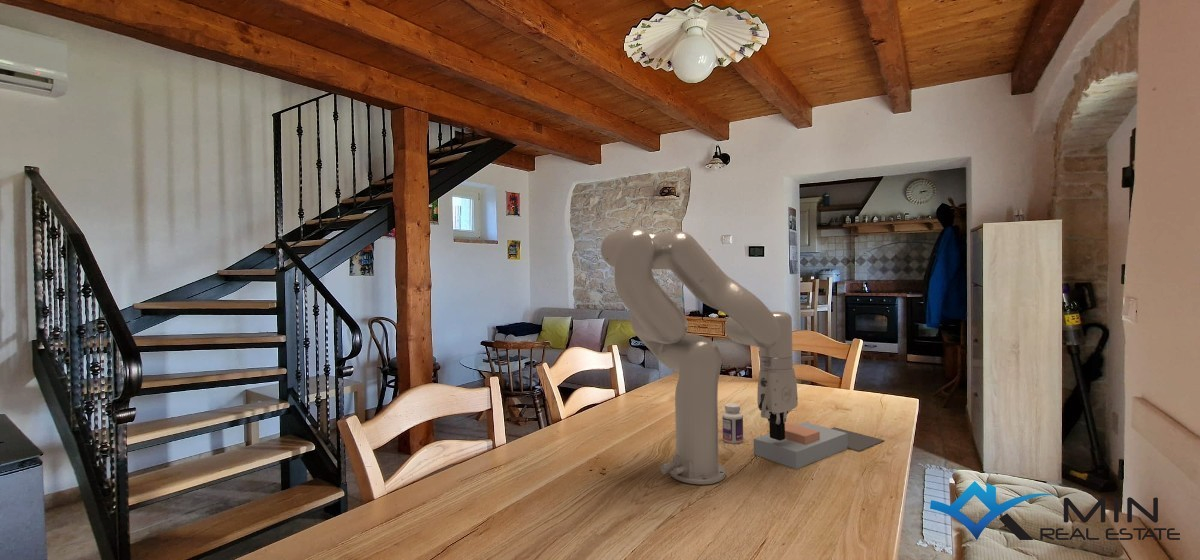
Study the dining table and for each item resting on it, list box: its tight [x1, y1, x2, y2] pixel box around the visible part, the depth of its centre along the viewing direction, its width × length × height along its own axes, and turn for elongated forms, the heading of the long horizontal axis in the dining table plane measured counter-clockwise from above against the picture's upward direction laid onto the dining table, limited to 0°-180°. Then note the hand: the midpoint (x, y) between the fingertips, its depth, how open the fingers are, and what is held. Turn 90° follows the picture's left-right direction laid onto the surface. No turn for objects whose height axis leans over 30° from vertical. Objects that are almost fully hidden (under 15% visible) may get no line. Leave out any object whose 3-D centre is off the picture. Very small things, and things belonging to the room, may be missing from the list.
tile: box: [785, 422, 820, 445], centre depth 129 cm, size 6×9×2 cm, turn 35°
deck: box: [753, 421, 848, 470], centre depth 130 cm, size 22×12×4 cm, turn 125°
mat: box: [830, 426, 886, 453], centre depth 139 cm, size 13×14×1 cm
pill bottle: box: [721, 402, 744, 444], centre depth 139 cm, size 5×5×10 cm
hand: (777, 438), depth 124 cm, fingers closed
